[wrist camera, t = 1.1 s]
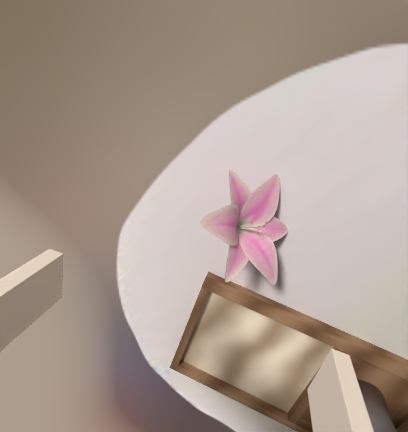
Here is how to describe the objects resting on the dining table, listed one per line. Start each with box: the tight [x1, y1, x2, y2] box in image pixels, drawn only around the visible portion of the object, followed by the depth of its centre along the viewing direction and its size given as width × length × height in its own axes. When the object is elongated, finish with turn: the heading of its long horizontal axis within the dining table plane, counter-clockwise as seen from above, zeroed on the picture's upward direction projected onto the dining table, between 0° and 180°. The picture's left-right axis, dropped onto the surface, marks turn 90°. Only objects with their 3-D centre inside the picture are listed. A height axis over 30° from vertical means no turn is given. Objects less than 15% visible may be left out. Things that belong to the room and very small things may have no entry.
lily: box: [200, 170, 288, 285], centre depth 30 cm, size 12×12×10 cm
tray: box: [170, 272, 408, 432], centre depth 37 cm, size 30×16×2 cm, turn 71°
